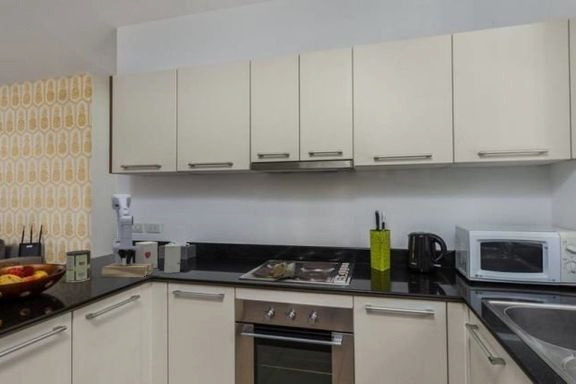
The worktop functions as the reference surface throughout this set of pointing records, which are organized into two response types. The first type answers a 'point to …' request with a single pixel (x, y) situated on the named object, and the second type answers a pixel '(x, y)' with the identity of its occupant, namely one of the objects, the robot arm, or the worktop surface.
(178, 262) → the skincare box
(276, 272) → the ceramic sculpture
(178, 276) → the worktop surface
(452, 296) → the worktop surface
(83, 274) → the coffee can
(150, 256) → the supplement box
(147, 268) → the block
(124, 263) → the bracket plate
